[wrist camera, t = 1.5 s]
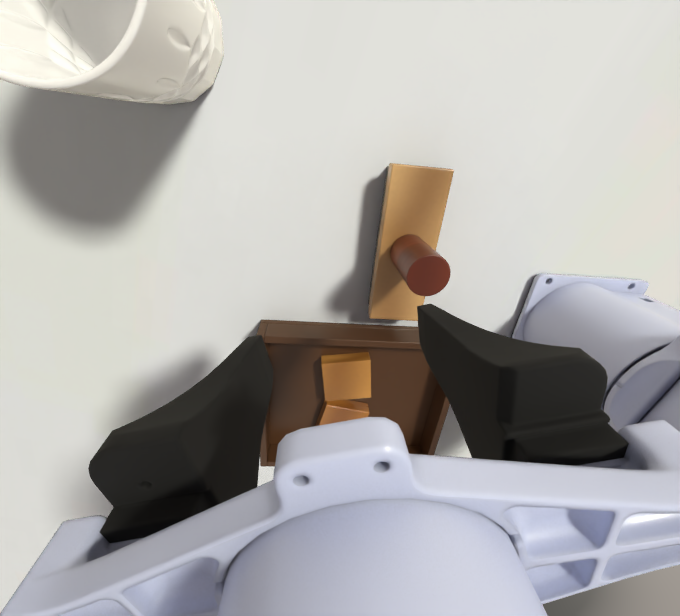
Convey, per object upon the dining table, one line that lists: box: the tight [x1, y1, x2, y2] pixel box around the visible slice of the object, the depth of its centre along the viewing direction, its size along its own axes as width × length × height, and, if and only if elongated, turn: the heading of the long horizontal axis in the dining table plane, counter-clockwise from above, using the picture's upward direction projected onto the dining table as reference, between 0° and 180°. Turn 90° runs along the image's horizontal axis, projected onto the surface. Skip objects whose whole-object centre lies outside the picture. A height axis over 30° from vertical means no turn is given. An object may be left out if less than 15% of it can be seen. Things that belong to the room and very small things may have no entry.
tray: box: [256, 320, 450, 466], centre depth 28 cm, size 16×14×2 cm
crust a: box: [321, 352, 371, 401], centre depth 27 cm, size 4×4×1 cm
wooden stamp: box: [368, 163, 454, 321], centre depth 20 cm, size 4×10×7 cm, turn 175°
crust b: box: [315, 400, 369, 426], centre depth 29 cm, size 4×4×1 cm
